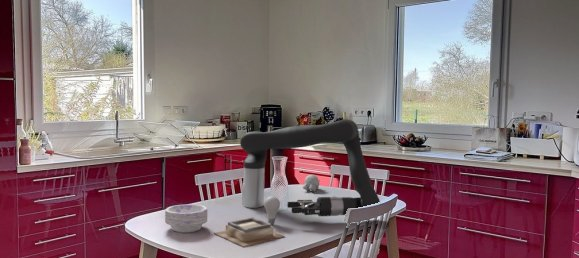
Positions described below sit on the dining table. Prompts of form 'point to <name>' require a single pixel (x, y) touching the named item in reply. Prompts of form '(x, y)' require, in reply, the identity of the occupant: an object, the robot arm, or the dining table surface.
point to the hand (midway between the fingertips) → (289, 207)
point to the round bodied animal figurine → (311, 183)
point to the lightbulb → (271, 208)
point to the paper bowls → (186, 217)
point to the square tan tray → (249, 232)
